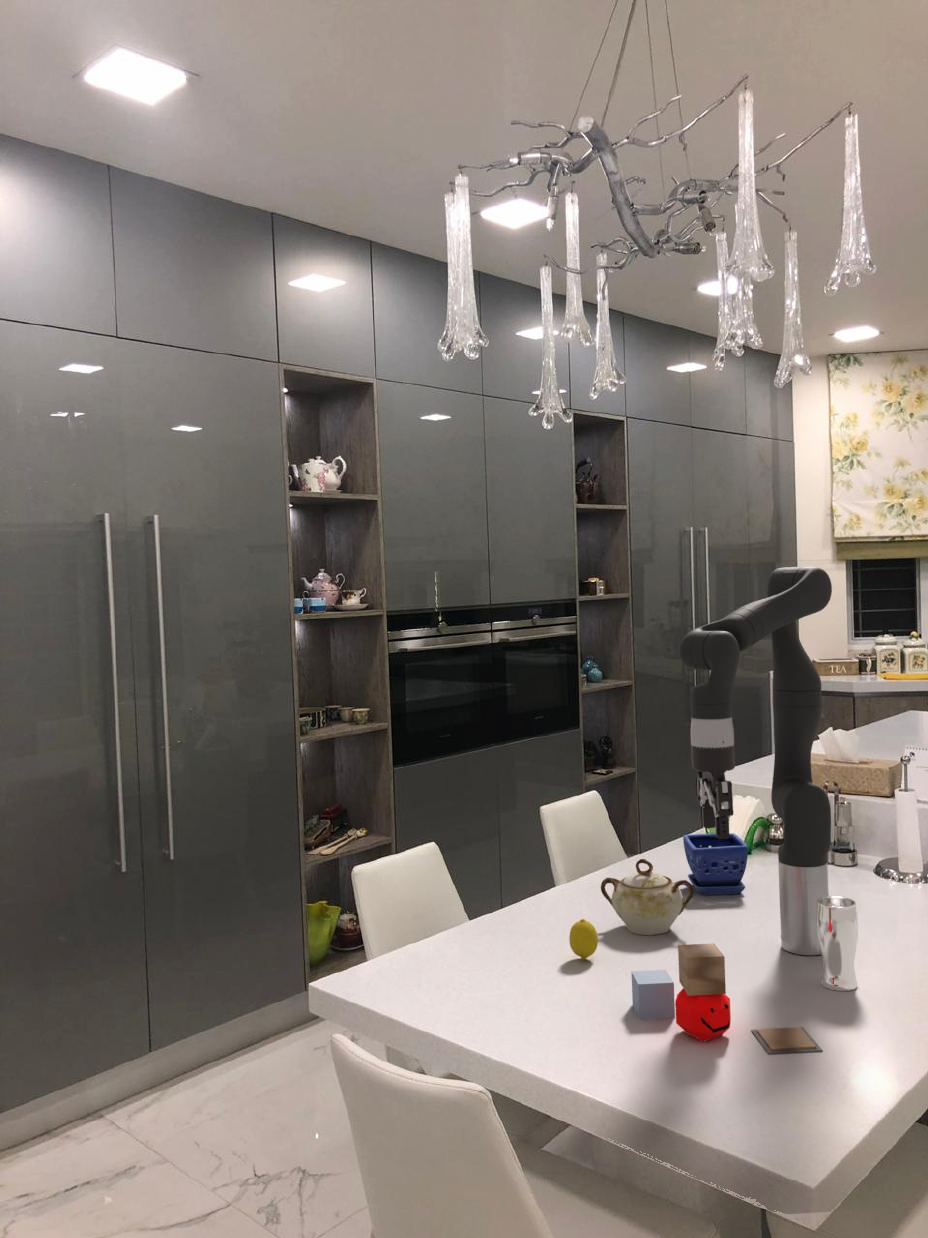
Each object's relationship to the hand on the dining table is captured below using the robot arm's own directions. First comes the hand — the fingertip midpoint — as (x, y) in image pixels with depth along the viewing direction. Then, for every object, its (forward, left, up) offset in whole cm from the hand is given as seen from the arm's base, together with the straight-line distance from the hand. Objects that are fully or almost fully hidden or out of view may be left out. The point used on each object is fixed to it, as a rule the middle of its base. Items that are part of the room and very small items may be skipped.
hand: (715, 833), depth 181 cm
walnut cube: (+8, +18, -20) cm, 28 cm away
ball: (+8, +18, -28) cm, 34 cm away
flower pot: (-16, -60, -28) cm, 68 cm away
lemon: (+22, -18, -28) cm, 40 cm away
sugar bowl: (+6, -34, -28) cm, 45 cm away
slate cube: (+14, +8, -28) cm, 32 cm away
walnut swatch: (-4, +22, -28) cm, 36 cm away
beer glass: (-21, +1, -28) cm, 35 cm away
